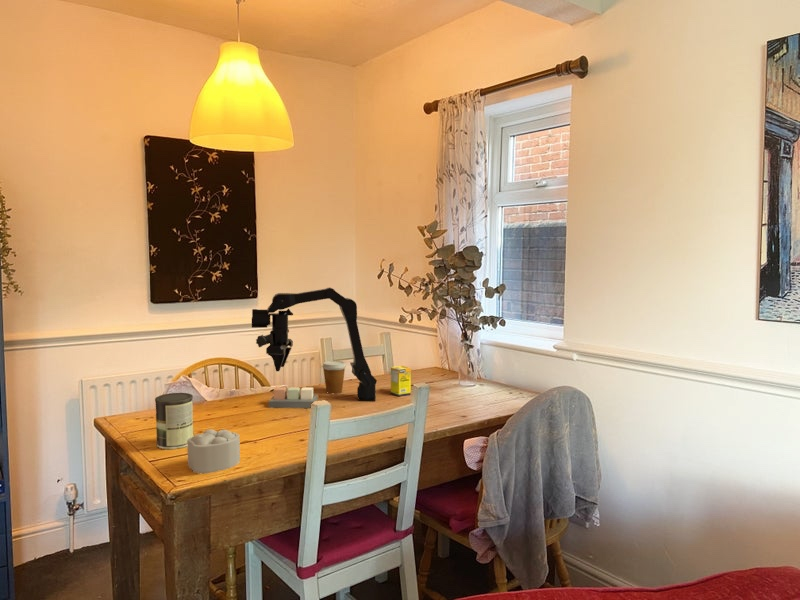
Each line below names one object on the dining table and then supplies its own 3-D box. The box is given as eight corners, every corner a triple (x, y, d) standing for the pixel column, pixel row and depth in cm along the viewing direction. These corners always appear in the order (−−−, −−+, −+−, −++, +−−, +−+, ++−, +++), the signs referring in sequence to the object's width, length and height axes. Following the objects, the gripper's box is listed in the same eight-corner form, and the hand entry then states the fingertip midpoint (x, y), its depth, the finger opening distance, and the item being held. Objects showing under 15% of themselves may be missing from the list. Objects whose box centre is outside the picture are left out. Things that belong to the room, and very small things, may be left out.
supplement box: (411, 394, 227) (411, 367, 226) (398, 396, 223) (398, 369, 222) (402, 391, 232) (402, 365, 231) (390, 393, 228) (390, 366, 227)
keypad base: (317, 400, 216) (317, 394, 216) (313, 408, 206) (313, 401, 206) (274, 400, 216) (274, 394, 216) (268, 407, 206) (268, 401, 206)
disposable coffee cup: (348, 393, 228) (348, 364, 227) (325, 395, 224) (325, 365, 223) (342, 388, 237) (342, 360, 236) (320, 390, 233) (319, 361, 232)
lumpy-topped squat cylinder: (185, 463, 152) (184, 432, 151) (232, 453, 160) (232, 423, 159) (196, 476, 144) (196, 442, 143) (246, 465, 151) (245, 433, 150)
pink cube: (286, 397, 213) (286, 387, 213) (284, 400, 209) (284, 389, 209) (276, 397, 213) (276, 387, 213) (273, 400, 209) (273, 389, 209)
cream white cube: (313, 397, 213) (313, 387, 213) (311, 400, 209) (311, 390, 209) (302, 397, 213) (302, 387, 213) (300, 400, 209) (300, 390, 209)
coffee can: (149, 448, 163) (147, 400, 162) (167, 437, 173) (166, 392, 172) (183, 450, 162) (182, 402, 161) (199, 438, 172) (198, 393, 171)
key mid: (300, 397, 213) (299, 387, 213) (298, 400, 209) (298, 390, 209) (289, 397, 213) (289, 387, 213) (287, 400, 209) (287, 389, 209)
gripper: (264, 323, 218) (264, 363, 220) (251, 330, 200) (251, 374, 201) (293, 324, 218) (292, 364, 220) (283, 330, 200) (283, 374, 201)
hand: (280, 369), depth 210 cm, fingers open, 8 cm apart
